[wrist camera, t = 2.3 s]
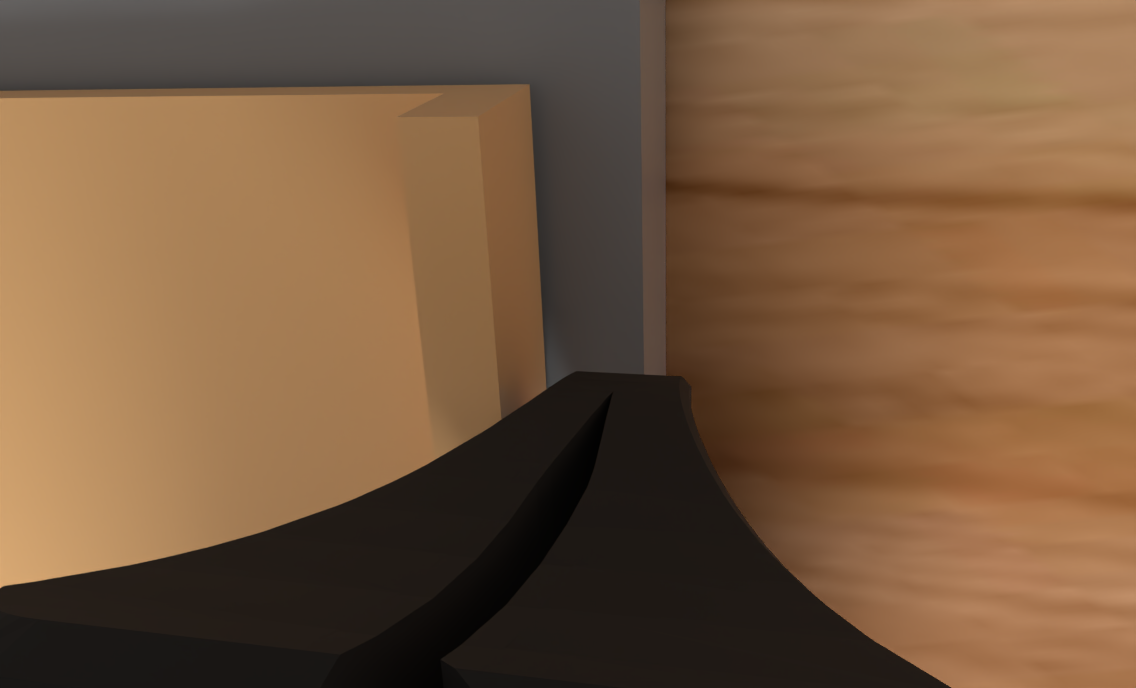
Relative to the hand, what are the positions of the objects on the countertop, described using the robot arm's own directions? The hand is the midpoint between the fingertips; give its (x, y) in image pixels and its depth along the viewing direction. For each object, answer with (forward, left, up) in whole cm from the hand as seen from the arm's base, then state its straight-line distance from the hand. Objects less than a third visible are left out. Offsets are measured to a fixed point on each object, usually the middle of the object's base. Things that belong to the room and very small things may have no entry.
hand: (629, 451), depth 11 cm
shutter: (-2, +5, -1) cm, 6 cm away
